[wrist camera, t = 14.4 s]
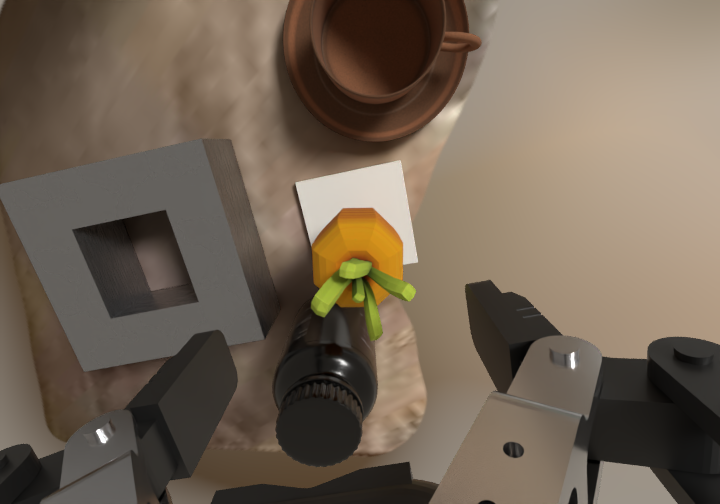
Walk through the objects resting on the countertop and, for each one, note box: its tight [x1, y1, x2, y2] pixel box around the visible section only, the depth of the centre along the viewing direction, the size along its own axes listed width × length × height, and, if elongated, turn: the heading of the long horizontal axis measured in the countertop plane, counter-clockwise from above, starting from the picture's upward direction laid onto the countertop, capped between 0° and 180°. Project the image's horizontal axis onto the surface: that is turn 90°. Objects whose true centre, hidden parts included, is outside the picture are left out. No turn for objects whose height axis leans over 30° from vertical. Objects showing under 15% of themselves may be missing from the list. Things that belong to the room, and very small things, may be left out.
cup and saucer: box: [283, 0, 481, 142], centre depth 23 cm, size 12×12×6 cm
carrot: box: [311, 208, 416, 341], centre depth 21 cm, size 5×5×15 cm
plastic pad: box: [295, 160, 418, 265], centre depth 28 cm, size 8×8×1 cm
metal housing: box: [0, 139, 280, 372], centre depth 27 cm, size 14×14×5 cm
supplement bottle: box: [272, 298, 378, 467], centre depth 26 cm, size 7×7×12 cm
